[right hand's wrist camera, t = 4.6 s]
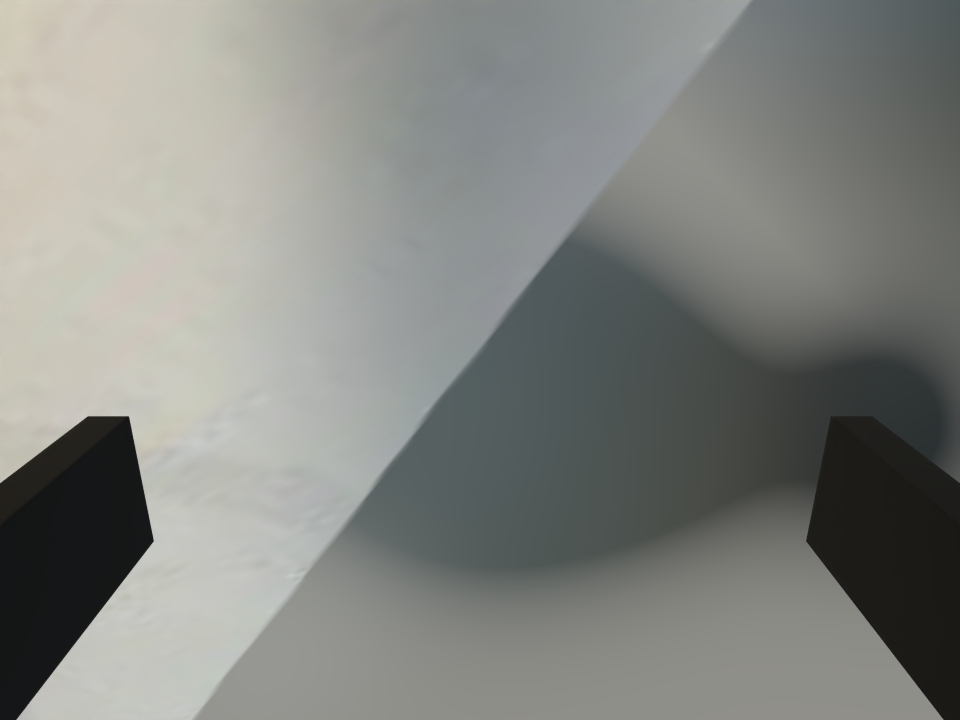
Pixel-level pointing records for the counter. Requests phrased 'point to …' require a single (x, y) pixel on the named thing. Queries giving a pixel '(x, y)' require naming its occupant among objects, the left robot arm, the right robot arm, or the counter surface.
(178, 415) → the counter surface
